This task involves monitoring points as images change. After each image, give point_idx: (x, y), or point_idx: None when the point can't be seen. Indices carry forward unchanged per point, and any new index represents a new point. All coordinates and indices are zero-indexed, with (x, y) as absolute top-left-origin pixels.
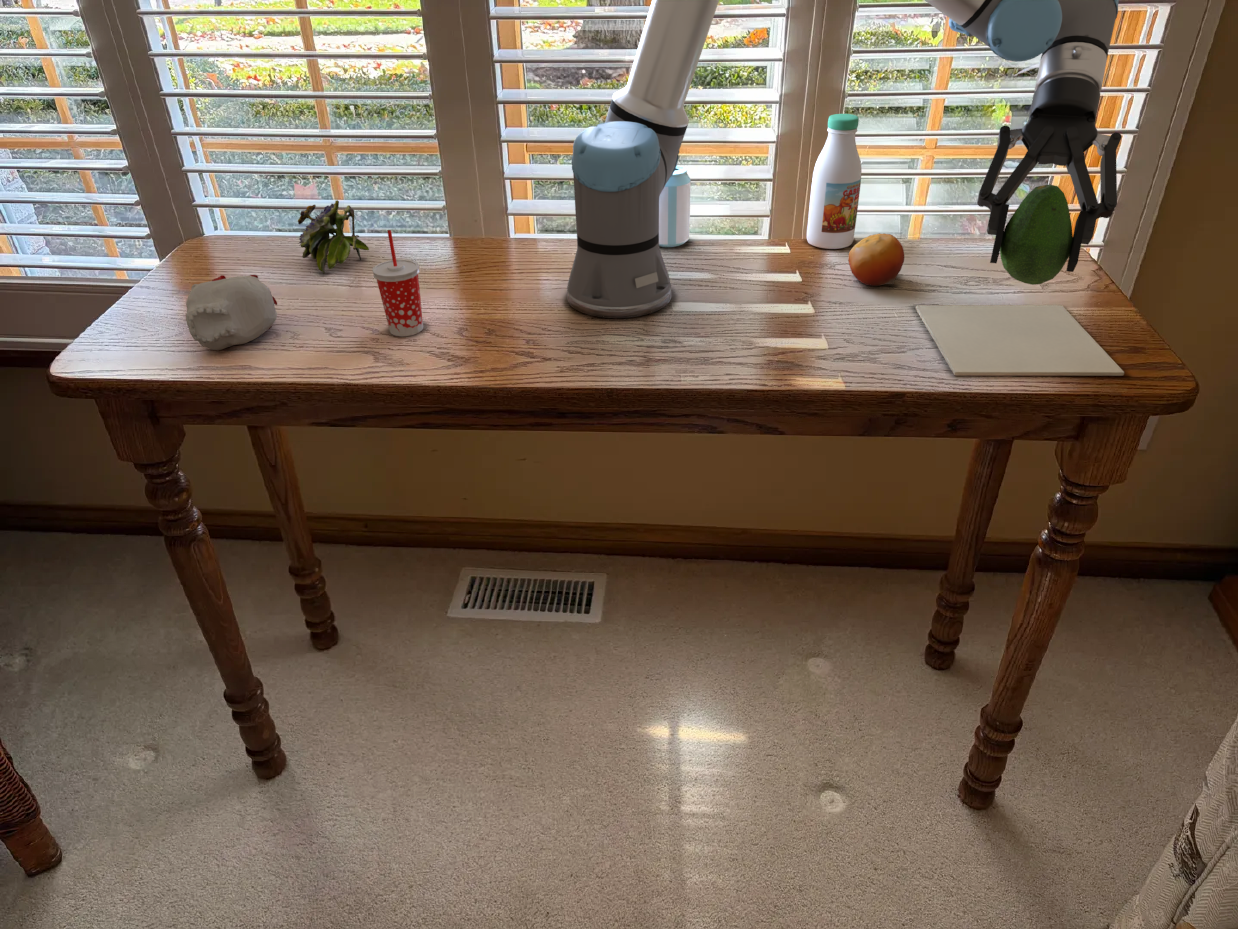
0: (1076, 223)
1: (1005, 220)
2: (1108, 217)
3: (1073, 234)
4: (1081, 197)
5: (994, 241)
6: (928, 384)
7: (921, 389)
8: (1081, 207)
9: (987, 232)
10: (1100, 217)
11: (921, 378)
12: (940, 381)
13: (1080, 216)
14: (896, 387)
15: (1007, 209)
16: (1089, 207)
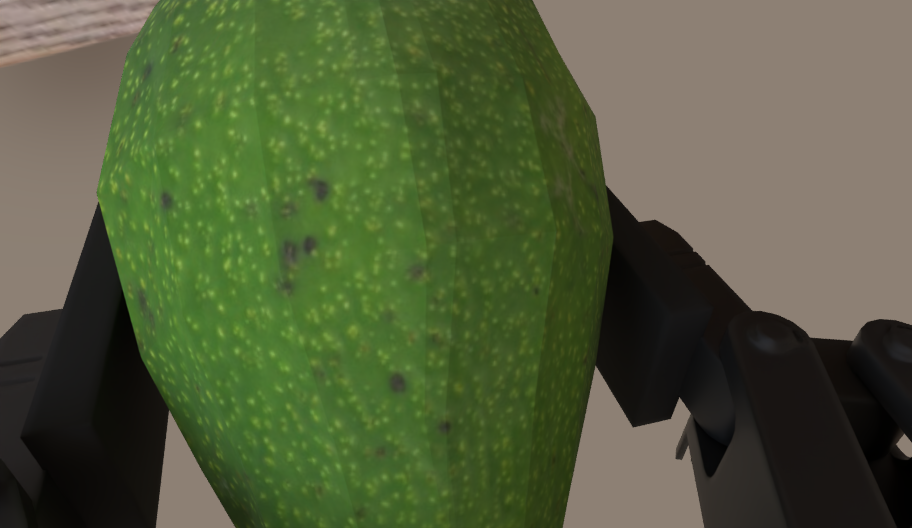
0: (630, 328)
1: (163, 421)
2: (892, 322)
3: (613, 251)
4: (731, 514)
5: (82, 253)
6: (88, 21)
7: (86, 40)
8: (738, 420)
9: (20, 328)
10: (813, 338)
11: (50, 6)
12: (111, 3)
13: (618, 393)
14: (20, 50)
15: (152, 496)
16: (679, 443)
